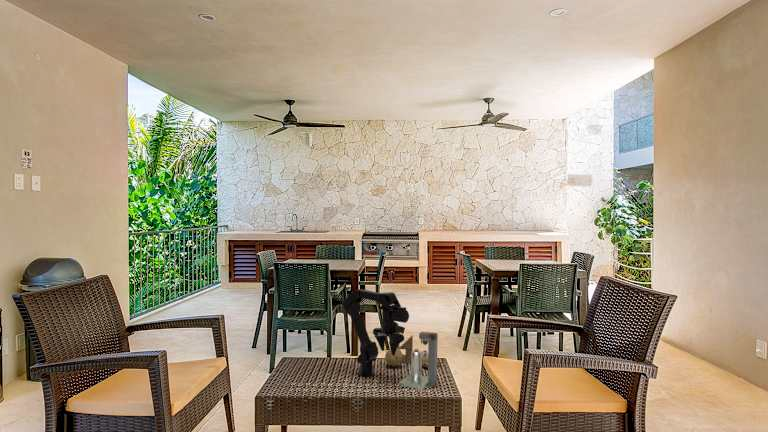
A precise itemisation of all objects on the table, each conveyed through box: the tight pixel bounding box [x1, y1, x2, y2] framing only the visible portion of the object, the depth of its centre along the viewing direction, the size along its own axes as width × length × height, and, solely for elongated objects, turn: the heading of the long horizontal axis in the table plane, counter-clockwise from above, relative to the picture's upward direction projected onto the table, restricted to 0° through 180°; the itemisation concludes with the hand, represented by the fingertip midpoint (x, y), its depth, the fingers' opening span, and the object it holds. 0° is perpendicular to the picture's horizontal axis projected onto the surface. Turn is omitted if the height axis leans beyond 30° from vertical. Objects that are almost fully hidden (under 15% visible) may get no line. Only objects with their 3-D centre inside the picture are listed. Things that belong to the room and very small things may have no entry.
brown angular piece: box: [394, 332, 414, 364], centre depth 243 cm, size 4×11×18 cm, turn 82°
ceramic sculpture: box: [421, 350, 443, 369], centre depth 235 cm, size 11×9×15 cm
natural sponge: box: [384, 347, 404, 368], centre depth 234 cm, size 9×9×10 cm
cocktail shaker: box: [410, 348, 422, 382], centre depth 211 cm, size 5×5×14 cm
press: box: [398, 331, 438, 390], centre depth 208 cm, size 16×19×23 cm
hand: (388, 352), depth 213 cm, fingers open, 9 cm apart
